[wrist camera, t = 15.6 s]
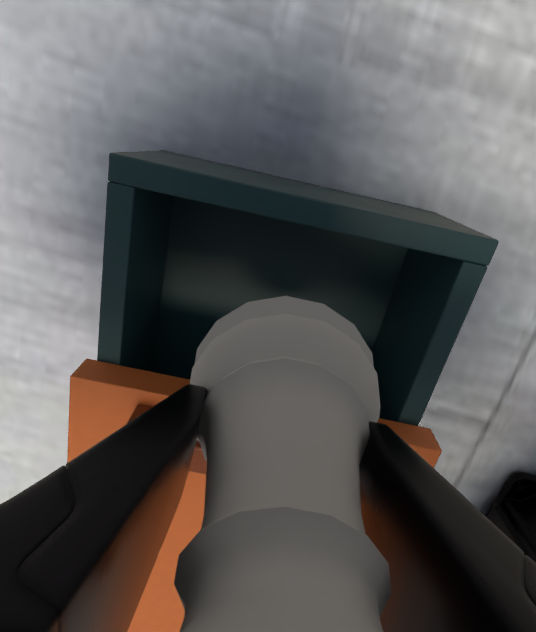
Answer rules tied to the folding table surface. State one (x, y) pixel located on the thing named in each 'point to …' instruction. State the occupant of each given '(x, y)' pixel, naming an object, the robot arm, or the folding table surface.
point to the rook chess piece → (283, 476)
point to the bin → (279, 267)
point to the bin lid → (139, 396)
